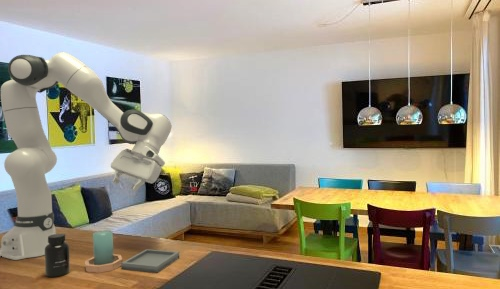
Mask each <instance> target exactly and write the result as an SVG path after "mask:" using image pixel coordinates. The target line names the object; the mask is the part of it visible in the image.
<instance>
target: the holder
mask: <svg viewBox="0 0 500 289" xmlns="http://www.w3.org/2000/svg"><path fill="white" fill-rule="evenodd" d="M113 255H114V262H113V263H109V264H104V265H94V256H92V257H90V258H88V259H86V260H85V261H84V262H85V264H84V265H85V271H86V272H87V273H96V274H99V273H105V272H111V271H115V270H116V269H118V268H120V267H121V263H122V262H124V261H123V257H122V255H121V254H115V253H113Z"/></svg>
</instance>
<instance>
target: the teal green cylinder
mask: <svg viewBox="0 0 500 289" xmlns="http://www.w3.org/2000/svg"><path fill="white" fill-rule="evenodd" d="M113 234H114V233H113V231H112V230H109V229H106V230H99V231H95V232H93V233H92V246H93V248H92V249H93V257H94V264H93V265H104V264H109V263H113V262H115V261H114V255H113V254H114V240H113V238H114V237H113V236H114V235H113Z"/></svg>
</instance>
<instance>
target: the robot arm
mask: <svg viewBox="0 0 500 289" xmlns="http://www.w3.org/2000/svg"><path fill="white" fill-rule="evenodd" d="M7 72H8V74H9V76H10V77H11V79H10V80H7V81H5V82H4V83H3V84H1V87H0V102H1V103H0V104H1V109H2V113H3V117H4V122H5V126H6V131H7V134H8V135H9V136H10V137H11V139H12V140H13V142H14V143H15V146H16V148H17V149H15V150H14V151H12V152H11V153H9V154H8V155H7V156H6V157H5V160H4V162H3V164H4V170H5V171H6V173H7V174H8V176H10V178H11V182H12V185H13V187H14V191H15V193H16V194H15V196H16V203H17V216H15V217H13V219H12V222H14V226H13V227H11V229H9V231H7V232H6V233H5V234H4V235H3V236H2V237H1V241H0V257H1V256H2V258H5V259H8V260H9V259H10V260H13V261H17V260H23V259H27V258H36V257H41V256H45V247H46V246H47V245H48V244H49V243H48V236H50V235H54V234H57V233H56V232H57V231H56V227H55V224H54V223H55V222H54V221H55V214H54V211H53V201H52V200H53V199H52V191H51V189H50V188H49V185H48V182H47V179H46V174H47V173H49V172H51V171H52V170H53V169H54V167H55V166H56V164H57V160H58V158H57V154H56V152H55V151H54V150H53V149H52V147H51V145H50V142H49V139H48V137H47V136H46V133H45V131H44V129H43V125H42V120H41V116H40V111H39V107H38V104H37V103H38V102H37V100H36V98H37V97H36V96H37V93H39V94H41V93H44V92H45V91H47V90H50V89H51V88H54V87H55V86H57V85H58V84H61V86H63V87H65V89H66V90H68V91H70V92H71V93H72V94H73V95H74V96H76V97H78V99H81V100H82V101H83V102H85V103H86V104H87V105H88V106H89V107H91V108H93V110H96V111H97V113H99V114H100V115H101V117H103V118H105V119H106V120H107V121H108V122H109V123H110V124H111V125H112V126H113V127H115V129H117V131H118V134H119V135H120V137H121V139H122V141H124V142H125V143H126V144H129V145H134V146H133V147H132V148H131V149H129V148H125V149H123V150H121V151H120V152H119V153H118V154H117V155H116V156H115V158H114V159H113V160H112V162H111V164H110V168H111V169H112V170H113V171H114V176H113V177H114V178H113V179H112V181H111V182H112V183H113V184H115V185H119V183H121V182H120V181H121V180H120V176H121V177H122V174H123V175H127V176H129V177H131V178H135V179H138V180H137V182H136V183H133V184H132V185H131V186H130V189H131V190H132V191H133V192H137V191H138V190H139V188H140V187H142V186H143V185H145V183H148V184H154V183H155V182H156V181H157V180H158V178H159V176H160V174H161V172H162V168H163V167H164V166H165V164H166V162H165V161H164V159H163V158H162V157H161V156H160V155H159V153H160V150H161V148H162V146H164V144H166V141H167V139H168V138H169V136H170V133H171V131H172V122H171V121H170V120H169V119H168V118H167V116H166V115H164V114H162V113H160V112H159V113H158V112H156V113H149V112H148V113H147V112H143V111H141V110H138V109H134V108H133V109H129V110H125V111H124V112H123V110H121V109H120V108H119V107H118V106H117V105H116V104H115V103H114V102H112V100H111V99H110V97H109V96H108V94H107V91H106V88H105V86H104V83H103V81H102V80H101V78H100V77H99V76H98V75H97V73H96V72H95V71H94V69H92V68H90V67H89V66H87V64H85V63H84V62H82V61H81V60H80V59H78V58H77V57H75V56H74V55H71V54H70V53H68V52H63V51H62V52H61V51H60V52H57V53H55V54H54V55H53V56H51V58H49V59H45V58H44V57H41V56H35V55H31V54H20V55H16V56H14V57H13V58H12V59H10V61H9V63H8V66H7Z"/></svg>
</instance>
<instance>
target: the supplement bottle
mask: <svg viewBox="0 0 500 289" xmlns="http://www.w3.org/2000/svg"><path fill="white" fill-rule="evenodd" d="M48 243H49V244H48V245H47V246H46V247H45V255H44V270H45V272H44V273H45V276H46V277H48V278H57V277H63V276H65V275H67V274H68V273H70V271H71V270H70V269H71V268H70V267H71V266H70V265H71V263H70V260H71V259H70V245H69V243H68V242H66V234H65V233H56V234H54V235H50V236H48Z"/></svg>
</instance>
